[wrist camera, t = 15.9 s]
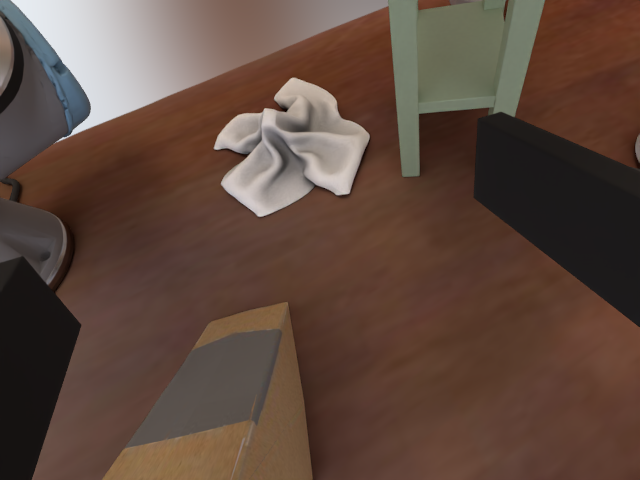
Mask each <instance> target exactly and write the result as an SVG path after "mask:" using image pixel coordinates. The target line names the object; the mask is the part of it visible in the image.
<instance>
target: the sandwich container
mask: <svg viewBox="0 0 640 480" xmlns="http://www.w3.org/2000/svg"><path fill="white" fill-rule="evenodd" d="M102 480H313V476H312V467H311V459H310V450H309V441H308V432H307V423H306V414H305V405H304V398H303V392H302V385H301V379H300V373H299V367H298V361H297V355H296V349H295V342H294V336H293V330H292V324H291V318H290V312H289V306H288V302H284V303H280V304H275V305H271V306H266V307H262V308H257V309H252V310H248V311H245V312H241V313H238V314H235V315H231V316H228V317H225V318H222V319H218V320H215V321H212V322H209V324H208V325H207V327H206V329H205V330H204V332H203V333H202V335H201V337H200V338H199V340H198V341H197V343H196V344H195V346H194V347H193V349H192V350H191V352H190V353H189V355H188V356H187V358H186V359H185V361H184V362H183V364H182V365H181V367H180V368H179V370H178V371H177V373H176V374H175V376H174V377H173V379H172V380H171V382H170V383H169V384H168V386H167V387H166V389H165V390H164V392H163V393H162V394H161V396H160V397H159V399H158V400H157V402H156V403H155V405H154V406H153V408H152V409H151V411H150V412H149V414H148V415H147V417H146V418H145V420H144V421H143V422H142V424H141V425H140V427H139V428H138V430H137V431H136V432H135V434H134V435H133V437H132V438H131V439H130V441H129V442H128V444H127V445H126V447H125V448H124V449H123V451H122V452H121V454H120V455H119V456H118V458H117V459H116V461H115V462H114V463H113V465H112V466H111V468H110V469H109V470H108V472H107V473H106V475H105V476H104V478H103V479H102Z"/></svg>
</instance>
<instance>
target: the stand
mask: <svg viewBox="0 0 640 480" xmlns="http://www.w3.org/2000/svg"><path fill="white" fill-rule="evenodd" d="M544 2H545V0H509V2H508V7H507V13H506V18H505V22H504V17H503V12H504V6H505V0H482V1H476V2H470V3H463V4H457V5H451V6H444V7H438V8H431V9H425V10H418V0H388V4H389V17H390V29H391V42H392V55H393V67H394V80H395V93H396V105H397V118H398V130H399V143H400V156H401V168H402V177H412V176H420V157H419V114H421V113H433V112H444V111H455V110H466V109H477V108H489V112H488V115H491V114H495V113H498V112H503V113H506V114H508V115H510V116H513V117H515V114H516V110H517V106H518V102H519V98H520V94H521V91H522V87H523V83H524V79H525V75H526V71H527V67H528V64H529V60H530V56H531V52H532V48H533V44H534V40H535V37H536V33H537V29H538V25H539V21H540V17H541V13H542V10H543V6H544Z"/></svg>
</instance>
